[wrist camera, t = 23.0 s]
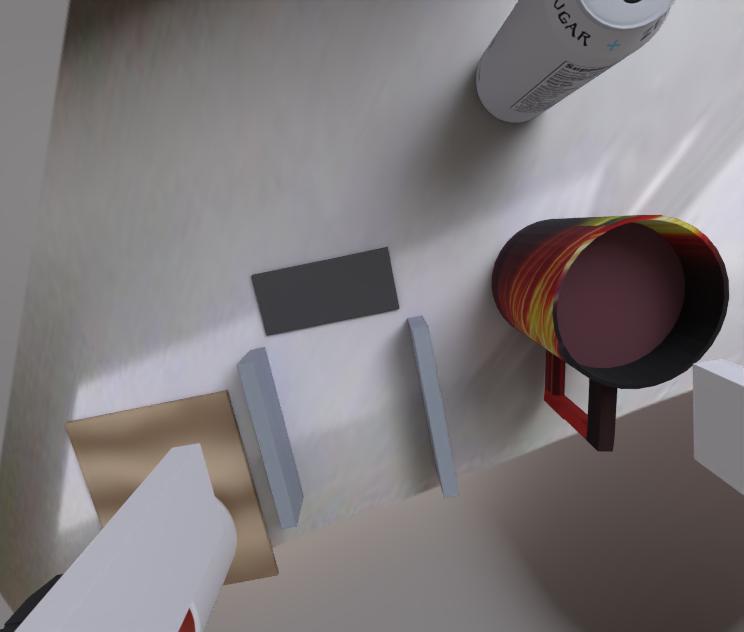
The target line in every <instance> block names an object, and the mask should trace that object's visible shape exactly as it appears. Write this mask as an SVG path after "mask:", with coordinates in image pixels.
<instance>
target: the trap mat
mask: <svg viewBox="0 0 744 632" xmlns="http://www.w3.org/2000/svg"><path fill="white" fill-rule="evenodd" d="M252 279H253V283H254V287H255V291H256V295H257V298H258V302H259V306H260V310H261V314H262V318H263V322H264V326H265V330H266V333H267V335H272V334H277V333H281V332H286V331H291V330H296V329H301V328H306V327H311V326H316V325H321V324H326V323H331V322H336V321H341V320H346V319H351V318H356V317H361V316H366V315H371V314H376V313H381V312H386V311H391V310H396V309H399V304H398V299H397V294H396V288H395V283H394V278H393V273H392V268H391V263H390V258H389V252H388V247H386V248H381V249H377V250H372V251H367V252H362V253H357V254H352V255H347V256H343V257H338V258H333V259H328V260H323V261H318V262H313V263H309V264H304V265H299V266H294V267H289V268H284V269H279V270H275V271H270V272H265V273H260V274H255V275H252Z"/></svg>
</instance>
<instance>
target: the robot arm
mask: <svg viewBox="0 0 744 632" xmlns="http://www.w3.org/2000/svg"><path fill="white" fill-rule="evenodd" d="M693 406H694V407H693V410H694V459H696V460H697V461H698V462H700V463H701V464H702V465H704V466H705V467H706V468H708V469H709V470H710V471H712V472H714V474H716V475H717V476H719V477H720V478H721V479H723V480H724V481H725V482H727V483H728V484H729V485H731V486H732V487H734V488H735V489H736V490H738V491H739V492H740V493H742V494H743V495H744V367H742V366H740V365H737V364H735V363H732V362H730V361H727V360H724V359H718V360H712V361H706V362H699V363H693ZM223 534H224V528H223V524H222V520H221V517H220V513H219V510H218V506H217V503H216V499H215V495H214V492H213V488H212V485H211V481H210V477H209V474H208V470H207V467H206V463H205V459H204V456H203V452H202V449H201V445H200V443H197V444H191V445H185V446H179V447H173V448H171V450H170V451H169V452H168V453H167V454H166V455H165V457H164V458H163V459H162V460H161V461H160V462H159V464H158V465H157V466H156V467H155V468H154V469H153V471H152V472H151V473H150V474H149V475H148V476H147V478H146V479H145V480H144V481H143V482H142V483H141V485H140V486H139V487H138V488H137V489H136V490H135V492H134V493H133V494H132V495H131V496H130V497H129V499H128V500H127V501H126V502H125V503H124V504H123V506H122V507H121V508H120V509H119V510H118V511H117V513H116V514H115V515H114V516H113V517H112V518H111V520H110V521H109V522H108V523H107V524H106V525H105V527H104V528H103V529H102V530H101V531H100V532H99V533H98V535H97V536H96V537H95V538H94V539H93V540H92V542H91V543H90V544H89V545H88V546H87V547H86V549H85V550H84V551H83V552H82V553H81V554H80V556H79V557H78V558H77V559H76V560H75V561H74V563H73V564H72V565H71V566H70V567H69V568H68V570H67V571H66V572H65V573H64V574H60V575H57V576H55V577H54V578H53V579H52V580H50V581H49V582H48V583H47V584H45V585H44V586H43V587H41V588H40V589H39V590H38V591H36V592H35V593H34V594H33V595H31V596H30V597H29V598H28V599H27V600H26V601H25V602H24V603H23V604H22V605H21V606H20V608H19V609H18V610H17V611H16V612H15V613H14V614H13V615H12V616H11V618H10V619H9V620H8V621H7V622H6V623H5V626H4V629H1V630H0V632H178V631H179V629H180V627H181V625H182V623H183V620H184V618H185V616H186V614H187V612H188V610H189V607H190V605H191V603H192V601H193V599H194V596H195V594H196V592H197V590H198V588H199V586H200V583H201V581H202V579H203V577H204V575H205V573H206V570H207V568H208V566H209V564H210V562H211V560H212V557H213V555H214V553H215V551H216V549H217V547H218V544H219V542H220V540H221V538H222V536H223Z"/></svg>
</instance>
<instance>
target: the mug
mask: <svg viewBox="0 0 744 632" xmlns="http://www.w3.org/2000/svg"><path fill="white" fill-rule="evenodd" d="M492 291H493V297H494V300H495V303H496V306H497V308H498V310H499V311H500V313H501V314H502V316H503V317H504V318H505V319H506V321H507V322H508V323H509V324H510V325H512V326H513V327H515V328H516V329H517V330H519V331H520V332H522V333H523V334H525V335H526V336H528V337H529V338H531V339H532V340H534V341H535V342H537V343H538V344H539V345H541V346H542V347H544V348H545V349H546V371H545V393H544V401H545V402H546V403H547V404H548V405H549V406H550V407H551V408H552V409H553V410H554V411H556V412H557V413H558V414H559V415H560V416H561V417H562V418H563V419H565V420H566V421H567V422H568V423H569V424H570V425H571V426H572V427H573V428H574V429H575V430H576V431H577V432H579V433H580V434H581V435H582V436H583V437H584V438H585V439H586V440H587V441H588V442H589V443H590V444H591V445H592V446H593V447H594V448H595V449H596V450H597V451H613V445H614V436H615V419H616V402H617V388H620V389H640V388H646V387H651V386H656V385H658V384H661V383H664V382H666V381H669V380H672V379H673V378H675V377H677V376H678V375H680V374H682V373H683V372H685V371H687V370H688V369H689V368H690V367H691V366H693V363H696V362H697V361H699V360H700V359H701V358H702V356H703V355H704V354H705V353H706V352H707V350H708V349H709V348H710V347H711V346H712V344H713V342H714V341H715V339H716V337H717V335H718V334H719V332H720V330H721V327H722V325H723V322H724V319H725V316H726V313H727V307H728V301H729V280H728V276H727V272H726V268H725V264H724V262H723V260H722V258H721V256H720V254H719V252H718V250H717V248H716V247H715V246H714V245H713V243H712V242H711V241H710V240H709V239H708V237H707V236H706V235H704V234H703V233H702V232H701V231H699V230H698V229H697V228H695V227H694V226H692V225H690V224H688V223H686V222H684V221H681V220H679V219H676V218H672V217H667V216H662V215H633V216H611V217H588V218H566V219H549V220H544V221H539V222H536V223H534V224H531V225H529V226H527V227H525V228H523V229H522V230H520V231H519V232H517V233H516V234H515V235H514V236H513V237H512V238H511V239H510V240H509V241H508V242H507V243H506V244H505V246H504V247H503V249H502V250H501V251H500V254H499V256H498V258H497V260H496V262H495V266H494V270H493V274H492ZM565 362H566V363H567V364H569V365H570V366H572V367H573V368H575V369H576V370H578V371H579V372H581V373H582V374H584V375H585V376H587V377H588V378H590V379H589V402H588V415H587V414H586V413H585V412H584V411H582V410H581V409H580V408H579V407H578V406H577V405H575V404H574V403H573V402H572V401H571V400H569V399H568V398H567V397H566V396H565V395H564V390H565Z"/></svg>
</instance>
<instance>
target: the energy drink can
mask: <svg viewBox="0 0 744 632" xmlns="http://www.w3.org/2000/svg"><path fill="white" fill-rule="evenodd" d="M674 2H675V0H519V1H518V3H517V4H516V6H515V7H514V9H513V10H512V12H511V13H510V15H509V16H508V18H507V19H506V21H505V22H504V24H503V25H502V27H501V28H500V30H499V31H498V33H497V34H496V36H495V37H494V39H493V40H492V42H491V43H490V45H489V46H488V48H487V49H486V51H485V52H484V54H483V56H482V58H481V59H480V62H479V65H478V68H477V75H476V86H477V91H478V95H479V97H480V100H481V102H482V104H483V105H484V107H485V108H486V109H487V110H488V111H489V112H490V113H491V114H492V115H493V116H495V117H497V118H498V119H500V120H503V121H506V122H513V123H516V122H524V121H528V120H531V119H533V118H534V117H536V116H538V115H540V114H541V113H543V112H544V111H546V110H547V109H549V108H550V107H552V106H553V105H555V104H556V103H558V102H559V101H561V100H562V99H564V98H565V97H567V96H568V95H570V94H571V93H573V92H574V91H576V90H577V89H579V88H580V87H582V86H583V85H585V84H586V83H588V82H589V81H591V80H592V79H594V78H595V77H597V76H598V75H600V74H602V73H603V72H605V71H606V70H608V69H609V68H611V67H612V66H614V65H615V64H617V63H618V62H620V61H621V60H623V59H624V58H626V57H627V56H629V55H630V54H632V53H633V52H635V51H636V50H638V49H639V48H640V47H642V46H643V45H644V44H645V43H647V42H648V41H649V40H650V39H651V38H652V37H653V36H654V35H655V33H656V32H657V31H658V30H659V28H660V27H661V25H662V24H663V22H664V21H665V19H666V17H667V15H668V13H669V10H670V8H671V6H672V5H673V3H674Z"/></svg>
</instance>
